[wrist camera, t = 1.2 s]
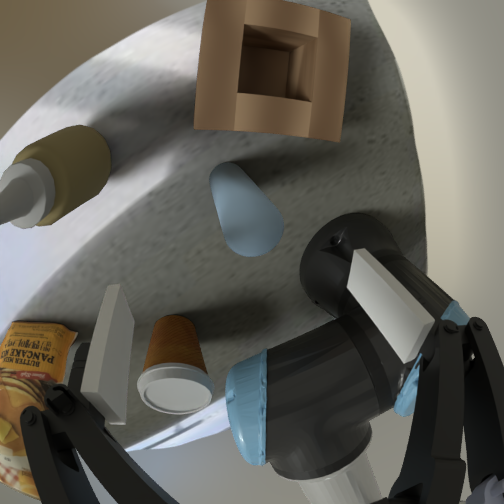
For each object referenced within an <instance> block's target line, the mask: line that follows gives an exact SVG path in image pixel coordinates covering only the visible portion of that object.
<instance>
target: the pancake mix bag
mask: <svg viewBox="0 0 504 504" xmlns="http://www.w3.org/2000/svg"><path fill="white" fill-rule="evenodd" d="M78 333H79V332H74V331H70V330H69V329H68V328H66V327H65V326H64V325H62V324H57V323H43V322H20V321H16V322H12V324H11V327H10V329H8V331H7V333H6V336H5V338H4V340H3V342H2V344H1V346H0V482H1V483H2V484H4V485H6V486H7V487H9V488H11V489H13V490H15V491H17V492H19V493H22V494H24V495H27V496H29V497H31V498H34V499H37V500H40V497H39V494H38V492H37V489H36V486H35V483H34V480H33V476H32V473H31V470H30V466H29V462H28V459H27V455H26V451H25V446H24V442H23V437H22V432H21V426H20V415H21V412H22V411H23V410H24V408H26V407H28V406H35V407H37V408H38V409H39V410H40V411H44V410H48V408H47V407H46V406H45V402H44V396H45V393H46V391H47V390H48V389H49V388H50V387H51V386H53V385H55V384H63V380H64V376H65V368H66V360H67V355H68V352H69V349H70V347H71V346H72V345H73V344H74V342H75V340H76V337H77V335H78ZM40 501H41V500H40Z"/></svg>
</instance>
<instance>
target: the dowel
mask: <svg viewBox="0 0 504 504" xmlns="http://www.w3.org/2000/svg"><path fill="white" fill-rule="evenodd" d="M209 182H210V187H211V191H212V194H213V198H214V202H215V205H216V209H217V213H218V216H219V220H220V224H221V227H222V231H223V234H224V238H225V241H226V243H227V245H228V246H229V247H230V248H231V249H232V250H233V251H234V252H236V253H237V254H240V255H242V256H247V257H254V256H260V255H263V254H265V253H267V252H269V251H270V250H272V249H273V248H274V247H275V246H276V245H277V244H278V242H279V241H280V239H281V237H282V234H283V230H284V222H283V218H282V215H281V213H280V212H279V210H278V209H277V208H276V207H275V206H274V204H273V203H272V202H271V201H270V200H269V199H268V198H267V196H266V195H265V194H264V193H263V192H262V191H261V190H260V189H259V187H258V186H257V185H256V184H255V183H254V182H253V181H252V180H251V179H250V178H249V176H248V175H247V174H246V173H245V172H244V171H243V170H242V169H241V168H240V167H239V166H238V165H236V164H234V163H230V162H226V163H222V164H219V165H218V166H216V167H215V168H214V169H213V170H212V172H211V174H210V178H209Z"/></svg>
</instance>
